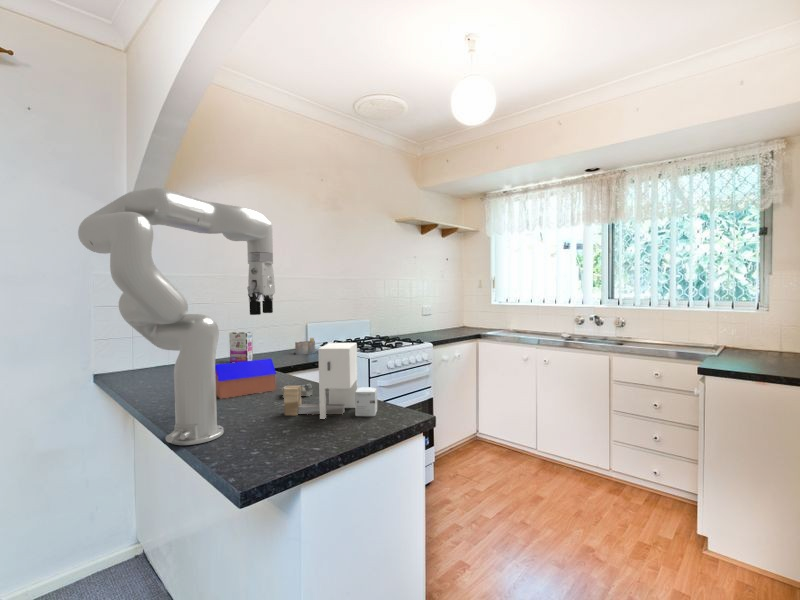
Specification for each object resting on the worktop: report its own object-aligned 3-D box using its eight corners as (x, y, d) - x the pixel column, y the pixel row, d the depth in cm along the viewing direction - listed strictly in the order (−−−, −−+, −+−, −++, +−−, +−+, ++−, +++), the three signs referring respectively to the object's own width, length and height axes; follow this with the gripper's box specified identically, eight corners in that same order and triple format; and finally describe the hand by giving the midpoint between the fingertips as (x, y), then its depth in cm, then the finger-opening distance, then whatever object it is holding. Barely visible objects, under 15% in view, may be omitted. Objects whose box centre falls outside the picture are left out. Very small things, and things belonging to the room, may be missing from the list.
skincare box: (355, 416, 118) (354, 391, 118) (358, 410, 124) (357, 386, 124) (375, 416, 118) (375, 391, 118) (377, 410, 124) (377, 386, 124)
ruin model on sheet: (313, 353, 247) (313, 337, 247) (315, 353, 244) (314, 337, 244) (295, 354, 242) (295, 338, 241) (296, 355, 239) (296, 339, 239)
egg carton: (281, 400, 138) (281, 388, 138) (281, 395, 146) (281, 383, 146) (313, 397, 141) (312, 386, 141) (311, 392, 148) (311, 381, 148)
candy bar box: (253, 361, 216) (252, 331, 216) (247, 363, 211) (246, 332, 211) (236, 361, 219) (235, 331, 219) (229, 362, 214) (228, 332, 214)
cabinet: (350, 420, 115) (348, 348, 114) (319, 420, 115) (317, 349, 115) (358, 406, 128) (356, 342, 128) (330, 406, 129) (328, 342, 128)
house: (213, 393, 149) (212, 362, 149) (267, 385, 161) (266, 356, 160) (219, 400, 139) (218, 367, 139) (276, 391, 151) (276, 360, 150)
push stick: (342, 415, 119) (341, 388, 119) (284, 415, 120) (283, 388, 120) (344, 411, 123) (344, 385, 123) (288, 411, 124) (288, 385, 124)
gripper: (261, 256, 117) (262, 315, 117) (281, 261, 134) (283, 312, 135) (236, 257, 117) (237, 315, 118) (259, 261, 135) (261, 312, 135)
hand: (261, 313), depth 126 cm, fingers open, 9 cm apart
